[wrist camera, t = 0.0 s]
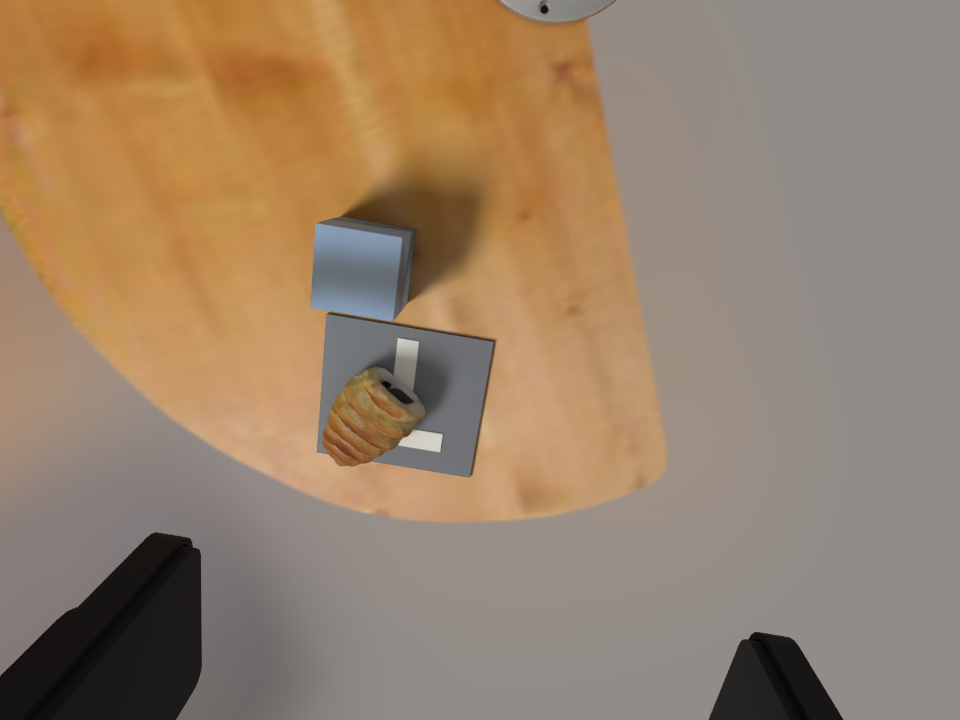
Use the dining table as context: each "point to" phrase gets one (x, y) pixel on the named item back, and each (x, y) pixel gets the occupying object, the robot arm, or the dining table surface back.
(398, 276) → the slate blue cube
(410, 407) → the pastry
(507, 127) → the dining table surface
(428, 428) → the board
